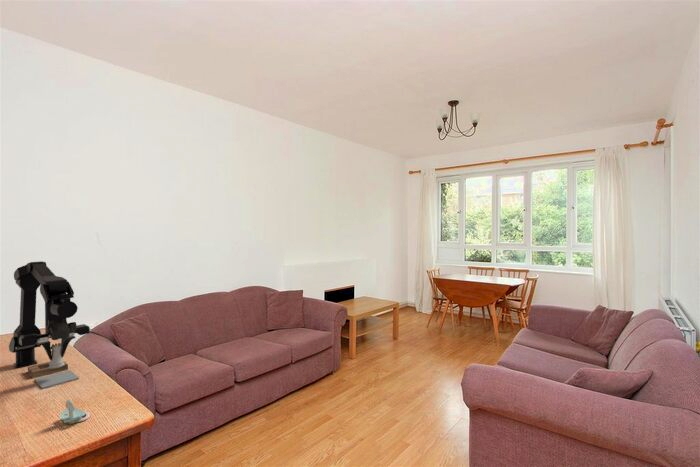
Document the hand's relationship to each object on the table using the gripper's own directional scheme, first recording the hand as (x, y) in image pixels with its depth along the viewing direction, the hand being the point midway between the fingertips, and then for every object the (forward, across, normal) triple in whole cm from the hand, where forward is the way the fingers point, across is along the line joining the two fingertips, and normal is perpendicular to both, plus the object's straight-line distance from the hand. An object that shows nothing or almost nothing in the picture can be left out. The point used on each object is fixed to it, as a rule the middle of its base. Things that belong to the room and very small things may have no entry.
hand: (56, 358), depth 124 cm
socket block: (+8, 0, +14) cm, 16 cm away
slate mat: (+8, 0, 0) cm, 8 cm away
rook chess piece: (+3, 0, 0) cm, 3 cm away
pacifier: (+8, -4, -40) cm, 41 cm away
